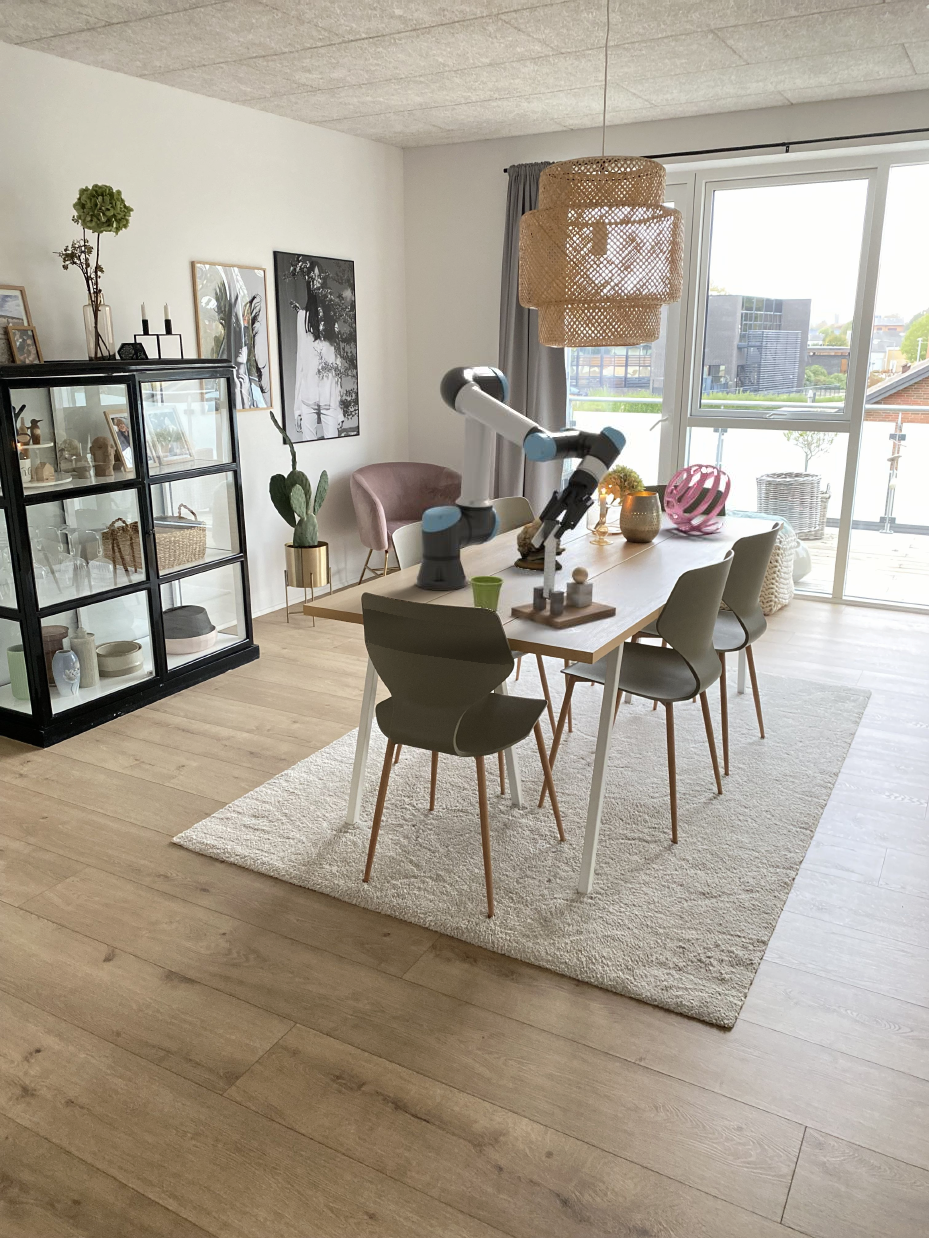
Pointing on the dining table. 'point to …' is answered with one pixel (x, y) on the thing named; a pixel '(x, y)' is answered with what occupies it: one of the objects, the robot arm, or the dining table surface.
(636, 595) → the dining table surface
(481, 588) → the plant pot
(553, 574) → the lever
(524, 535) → the brown lumpy mound
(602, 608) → the base
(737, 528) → the dining table surface
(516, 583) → the dining table surface
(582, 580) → the wooden ball
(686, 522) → the spiral basket
